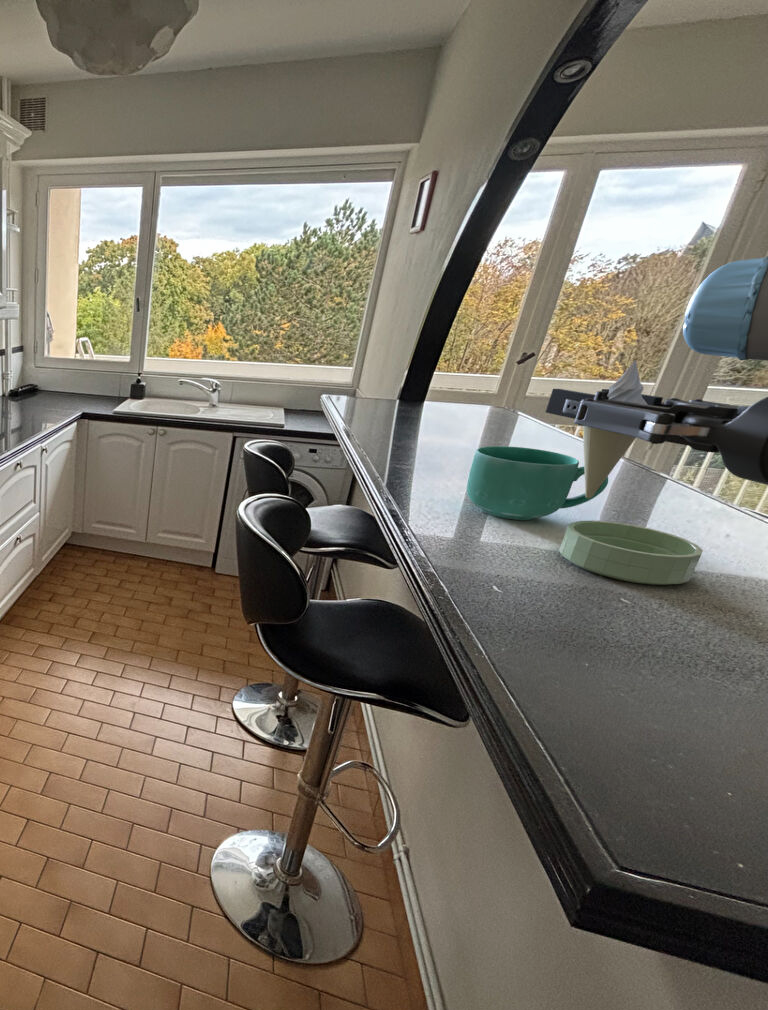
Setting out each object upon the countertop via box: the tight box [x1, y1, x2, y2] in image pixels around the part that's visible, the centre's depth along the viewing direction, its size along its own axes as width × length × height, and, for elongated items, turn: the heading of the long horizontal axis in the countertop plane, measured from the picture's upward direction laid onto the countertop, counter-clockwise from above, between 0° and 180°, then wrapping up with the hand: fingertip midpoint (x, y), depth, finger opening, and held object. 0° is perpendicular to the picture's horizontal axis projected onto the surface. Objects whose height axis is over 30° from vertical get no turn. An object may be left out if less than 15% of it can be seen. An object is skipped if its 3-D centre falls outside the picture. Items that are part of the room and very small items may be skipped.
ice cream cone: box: [582, 359, 648, 498], centre depth 64 cm, size 5×5×15 cm
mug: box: [466, 445, 609, 521], centre depth 91 cm, size 17×13×10 cm
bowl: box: [559, 520, 704, 586], centre depth 74 cm, size 12×12×4 cm
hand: (577, 400), depth 68 cm, fingers closed on ice cream cone, 5 cm apart
